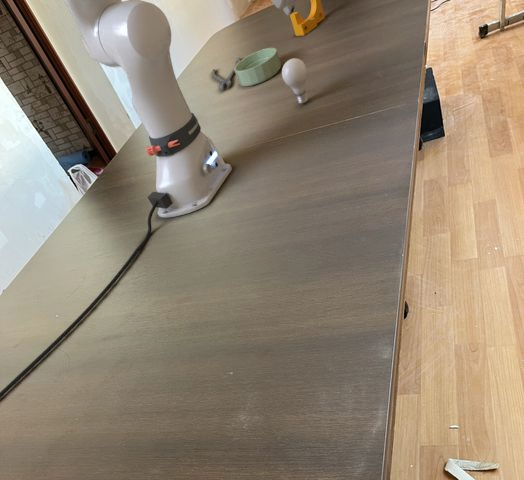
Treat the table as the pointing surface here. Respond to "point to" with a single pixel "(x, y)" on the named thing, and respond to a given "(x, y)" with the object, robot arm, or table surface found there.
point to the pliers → (227, 80)
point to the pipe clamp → (311, 22)
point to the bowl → (258, 67)
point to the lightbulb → (296, 78)
